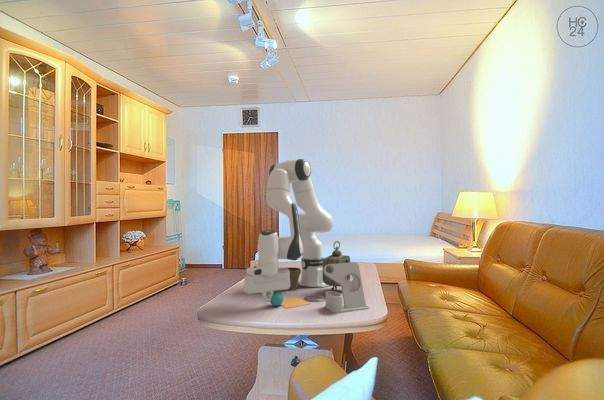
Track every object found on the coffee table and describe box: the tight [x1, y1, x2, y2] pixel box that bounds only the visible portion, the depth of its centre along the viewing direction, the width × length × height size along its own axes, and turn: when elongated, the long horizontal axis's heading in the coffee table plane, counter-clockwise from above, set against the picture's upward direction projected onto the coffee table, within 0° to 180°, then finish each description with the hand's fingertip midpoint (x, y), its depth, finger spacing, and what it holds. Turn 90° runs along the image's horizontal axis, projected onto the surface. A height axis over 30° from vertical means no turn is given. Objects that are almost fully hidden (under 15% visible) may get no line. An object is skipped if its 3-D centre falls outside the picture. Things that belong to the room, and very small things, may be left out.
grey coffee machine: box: [323, 261, 371, 314], centre depth 139 cm, size 17×10×18 cm, turn 110°
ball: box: [269, 290, 284, 307], centre depth 142 cm, size 6×6×6 cm
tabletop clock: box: [322, 240, 351, 293], centre depth 165 cm, size 14×9×25 cm, turn 148°
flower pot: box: [285, 266, 302, 291], centre depth 171 cm, size 12×11×10 cm
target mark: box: [280, 296, 311, 309], centre depth 146 cm, size 12×12×1 cm
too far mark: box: [303, 294, 326, 303], centre depth 152 cm, size 10×10×1 cm
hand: (267, 301), depth 140 cm, fingers closed
